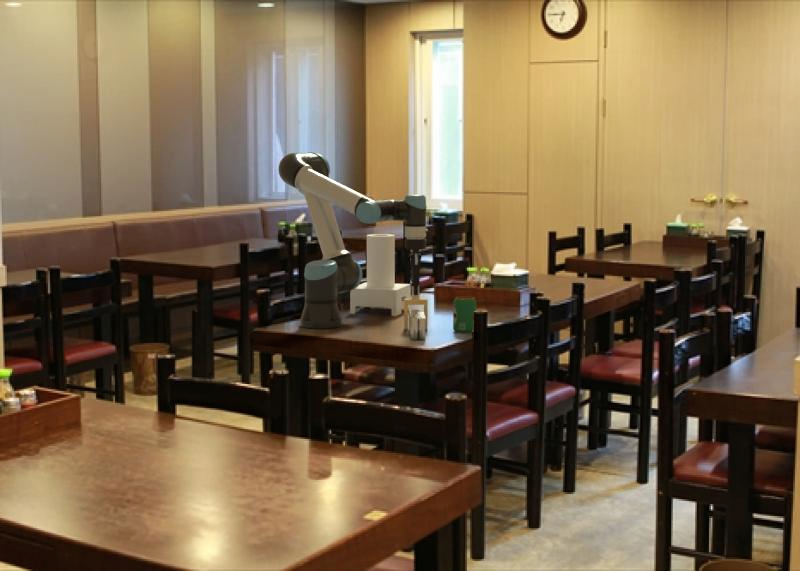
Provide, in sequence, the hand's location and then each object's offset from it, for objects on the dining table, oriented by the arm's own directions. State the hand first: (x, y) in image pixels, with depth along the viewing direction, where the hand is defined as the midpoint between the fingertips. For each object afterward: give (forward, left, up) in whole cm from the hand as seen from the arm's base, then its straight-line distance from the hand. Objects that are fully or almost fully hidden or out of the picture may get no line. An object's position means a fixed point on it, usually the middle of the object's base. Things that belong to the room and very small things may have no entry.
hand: (415, 303), depth 410 cm
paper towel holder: (-12, +40, -9) cm, 42 cm away
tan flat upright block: (0, -4, -8) cm, 9 cm away
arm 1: (-1, -17, -8) cm, 19 cm away
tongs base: (0, -4, -9) cm, 10 cm away
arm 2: (+1, -17, -8) cm, 19 cm away
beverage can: (+17, -8, -9) cm, 21 cm away
